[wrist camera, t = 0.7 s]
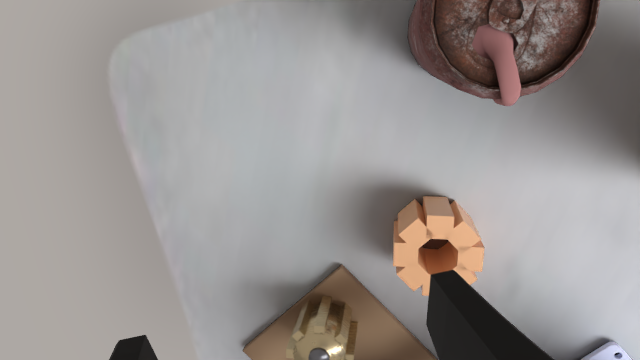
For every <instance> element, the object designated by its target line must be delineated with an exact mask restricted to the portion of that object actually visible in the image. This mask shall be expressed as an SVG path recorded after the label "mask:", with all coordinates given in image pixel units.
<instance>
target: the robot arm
mask: <svg viewBox="0 0 640 360" xmlns="http://www.w3.org/2000/svg"><path fill="white" fill-rule="evenodd" d="M426 325H427V327H428V330H429V333H430V336H431V338H432V341H433V344H434V347H435V349H436V352H437V354H438V357H439V360H554V359H553V358H552V357H550V356H549V355H548V354H547V353H545V352H544V351H543V350H542V349H540V348H539V347H538V346H537V345H536V344H534V343H533V342H532V341H531V340H530V339H528V338H527V337H526V336H525V335H524V334H523V333H522V332H520V331H519V330H518V329H517V328H516V327H515V326H514V325H512V324H511V323H510V322H509V321H508V320H507V319H506V318H504V317H503V316H502V315H501V314H500V313H499V312H498V311H497V310H496V309H495V308H493V307H492V306H491V305H490V304H489V303H488V302H487V301H486V300H485V299H484V298H483V297H482V296H481V295H480V294H479V293H478V292H476V291H475V290H474V289H473V288H472V287H471V286H470V285H469V284H468V283H467V282H466V281H465V280H464V279H463V278H462V277H461V276H460V275H459V274H458V273H457V272H456V271H454V270H449V271H444V272H440V273H435V274H431V276H430V288H429V300H428V312H427V324H426ZM618 352H619V354H618V355H614V354H615V353H618ZM109 360H158V359H157V357H156V355H155V353H154V351H153V349H152V347H151V345H150V343H149V341H148V339H147V337H146V335H142V336H137V337H133V338H128V339H123V340H120V341H119V342H118V343H117V344H116V346H115V348H114V351H113V353H112V355H111V357H110V359H109ZM581 360H633V359H632V358H631V357H630V356H629V355H628V354H627V353H626V352H625V351H624V350H623V349H622V348H621V347H620V346H619V345H618V344H617V343H616V342H608V343H606V344H604V345H603V346H601V347H600V348H598V349H596V350H595V351H593V352H592V353H590V354H588V355H587V356H585V357H584V358H582V359H581Z"/></svg>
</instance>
